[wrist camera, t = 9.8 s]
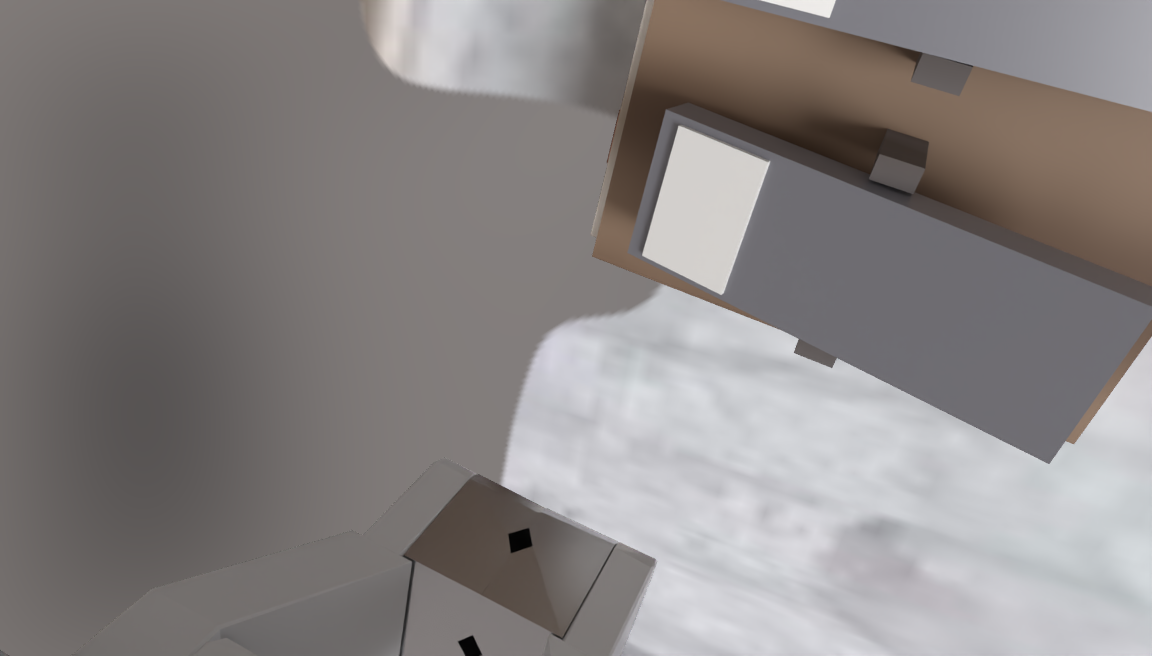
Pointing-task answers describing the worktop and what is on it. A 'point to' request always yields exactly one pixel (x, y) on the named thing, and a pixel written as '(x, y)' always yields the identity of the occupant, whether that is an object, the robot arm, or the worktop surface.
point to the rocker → (888, 279)
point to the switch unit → (890, 136)
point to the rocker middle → (1007, 37)
